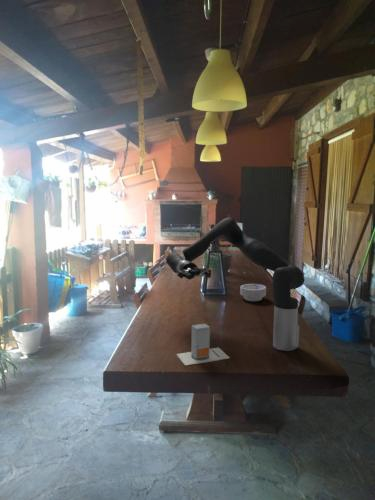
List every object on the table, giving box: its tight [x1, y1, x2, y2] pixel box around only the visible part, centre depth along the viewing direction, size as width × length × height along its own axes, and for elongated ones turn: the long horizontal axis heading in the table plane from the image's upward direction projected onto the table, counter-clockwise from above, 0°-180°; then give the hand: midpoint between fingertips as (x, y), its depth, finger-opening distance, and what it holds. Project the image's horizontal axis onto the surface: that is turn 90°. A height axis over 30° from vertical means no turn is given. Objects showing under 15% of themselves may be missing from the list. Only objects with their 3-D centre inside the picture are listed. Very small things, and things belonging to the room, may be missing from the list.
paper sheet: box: [175, 347, 230, 367], centre depth 141 cm, size 18×10×1 cm, turn 110°
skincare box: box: [190, 323, 211, 359], centre depth 140 cm, size 6×4×12 cm
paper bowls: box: [239, 283, 267, 302], centre depth 218 cm, size 15×15×8 cm
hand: (200, 276), depth 153 cm, fingers open, 8 cm apart
